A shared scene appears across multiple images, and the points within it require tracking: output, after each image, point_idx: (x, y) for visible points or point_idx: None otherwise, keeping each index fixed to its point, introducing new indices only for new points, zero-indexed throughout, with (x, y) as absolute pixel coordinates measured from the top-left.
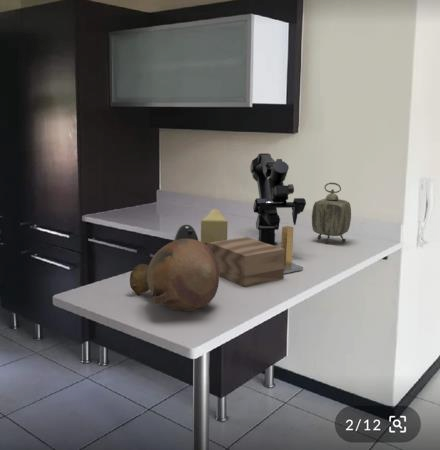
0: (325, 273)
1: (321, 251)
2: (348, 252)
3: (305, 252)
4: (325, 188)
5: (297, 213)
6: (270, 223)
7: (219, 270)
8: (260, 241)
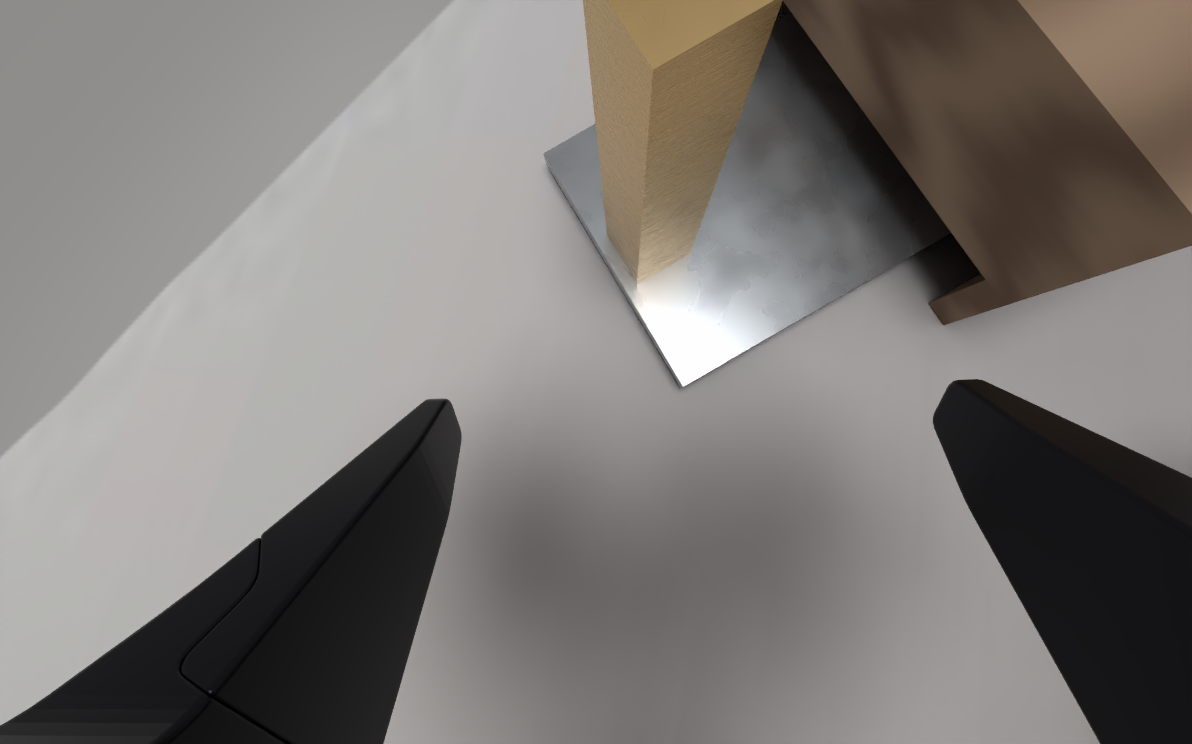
0: (419, 109)
1: None
2: (56, 644)
3: None
4: None
5: (206, 581)
6: (963, 381)
7: None
8: (1025, 3)
